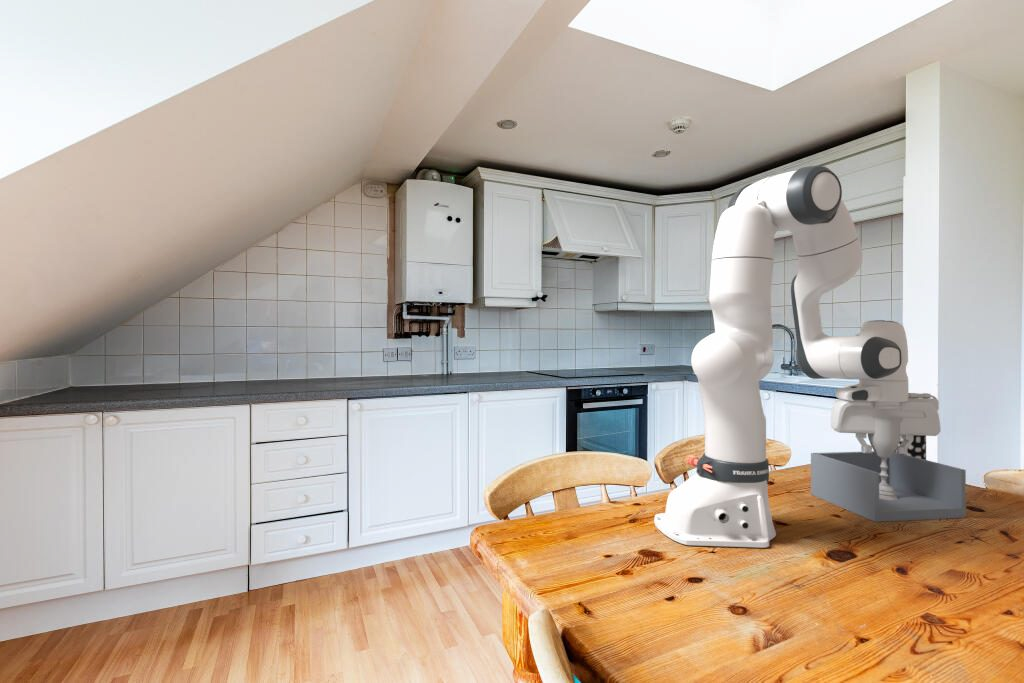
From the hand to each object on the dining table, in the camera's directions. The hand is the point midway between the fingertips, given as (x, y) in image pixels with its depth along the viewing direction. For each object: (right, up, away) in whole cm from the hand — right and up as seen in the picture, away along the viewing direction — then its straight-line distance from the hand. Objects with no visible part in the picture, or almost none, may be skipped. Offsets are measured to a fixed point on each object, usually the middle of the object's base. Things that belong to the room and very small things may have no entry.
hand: (884, 453), depth 109 cm
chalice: (0, -10, 0) cm, 10 cm away
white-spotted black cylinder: (+19, -12, +17) cm, 28 cm away
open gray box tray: (0, -12, 0) cm, 12 cm away
